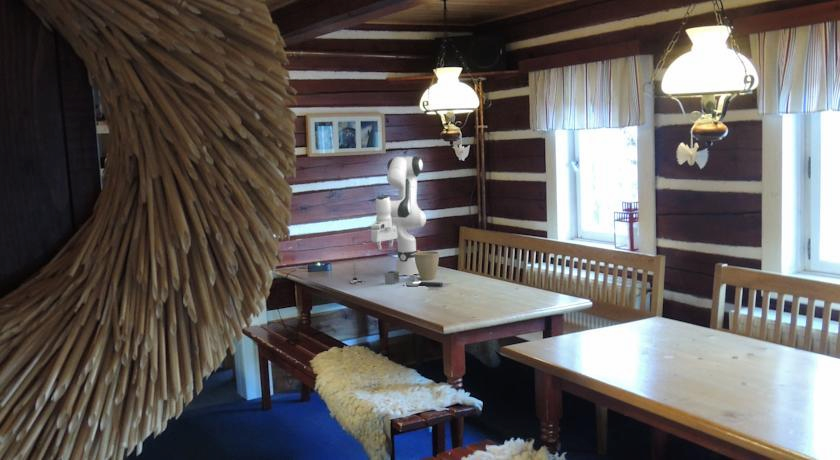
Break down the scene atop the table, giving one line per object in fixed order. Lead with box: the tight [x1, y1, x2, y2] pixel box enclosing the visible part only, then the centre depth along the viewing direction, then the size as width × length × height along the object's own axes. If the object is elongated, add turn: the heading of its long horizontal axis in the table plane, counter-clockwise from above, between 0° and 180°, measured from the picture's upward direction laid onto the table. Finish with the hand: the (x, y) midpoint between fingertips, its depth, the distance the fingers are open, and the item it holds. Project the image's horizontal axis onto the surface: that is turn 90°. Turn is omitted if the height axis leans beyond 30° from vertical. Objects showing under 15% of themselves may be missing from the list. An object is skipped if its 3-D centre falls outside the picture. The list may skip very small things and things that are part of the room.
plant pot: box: [414, 250, 440, 281], centre depth 457 cm, size 15×15×16 cm
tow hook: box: [352, 260, 358, 280], centre depth 460 cm, size 8×13×9 cm
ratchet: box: [405, 275, 444, 287], centre depth 436 cm, size 22×9×6 cm, turn 63°
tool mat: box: [427, 282, 453, 291], centre depth 437 cm, size 20×26×1 cm
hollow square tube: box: [384, 270, 400, 285], centre depth 450 cm, size 6×6×7 cm
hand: (385, 248), depth 446 cm, fingers open, 8 cm apart
